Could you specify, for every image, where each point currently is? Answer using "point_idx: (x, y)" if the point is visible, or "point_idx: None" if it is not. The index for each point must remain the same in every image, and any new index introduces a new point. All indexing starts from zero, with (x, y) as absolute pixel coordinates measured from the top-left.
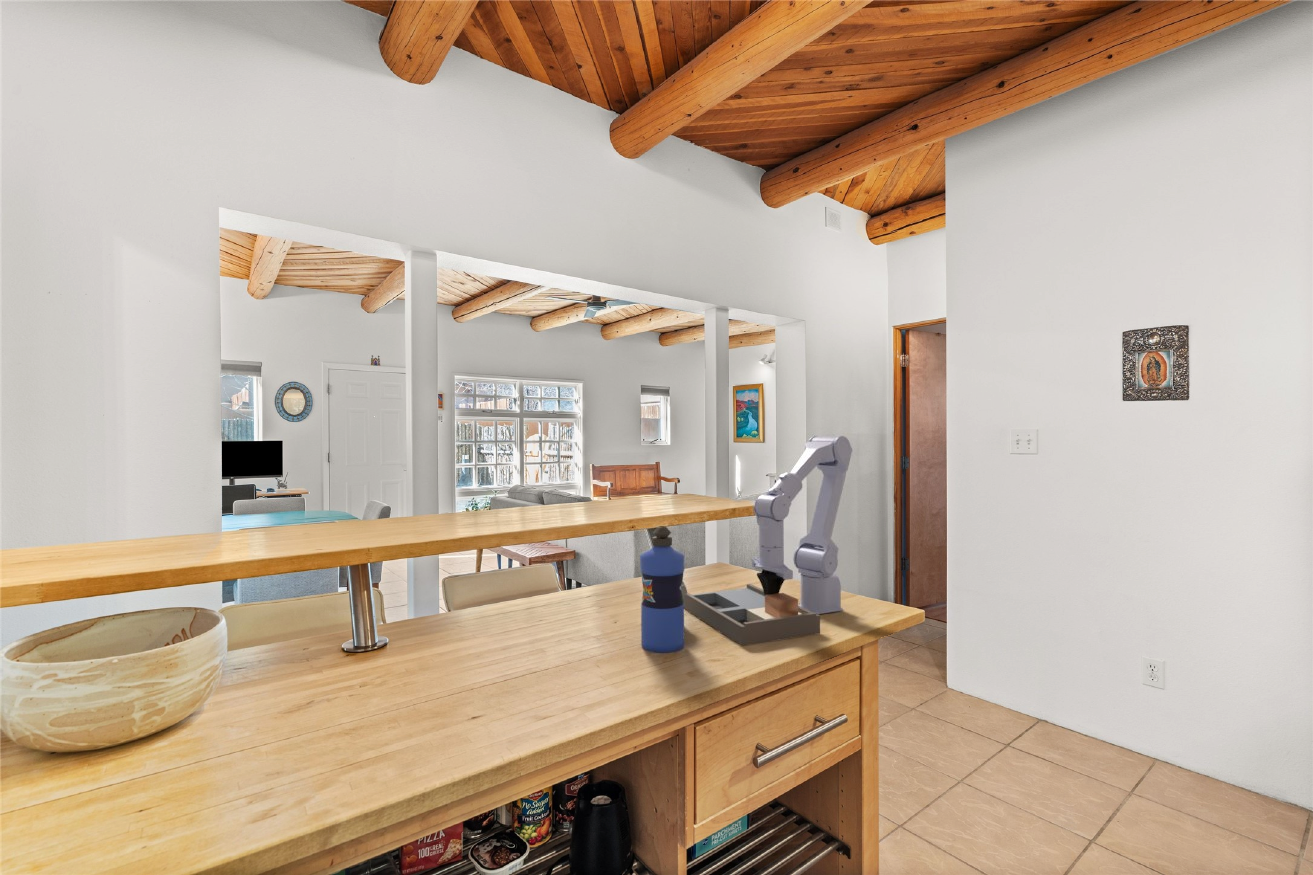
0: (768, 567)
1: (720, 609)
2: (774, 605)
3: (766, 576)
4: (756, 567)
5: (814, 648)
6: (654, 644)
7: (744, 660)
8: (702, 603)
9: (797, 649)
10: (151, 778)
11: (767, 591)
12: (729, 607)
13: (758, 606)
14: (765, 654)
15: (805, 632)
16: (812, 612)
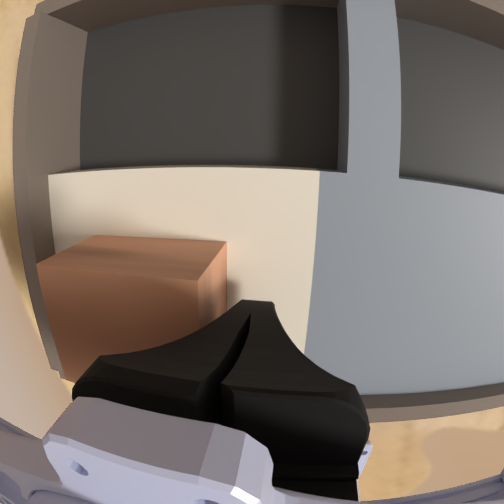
0: (8, 469)
1: (388, 35)
2: (98, 255)
3: (83, 377)
4: (154, 432)
5: (5, 238)
6: None
7: (13, 14)
8: None
9: (6, 187)
10: None
11: (212, 327)
12: (486, 189)
13: (341, 274)
14: (11, 77)
15: None
16: None
